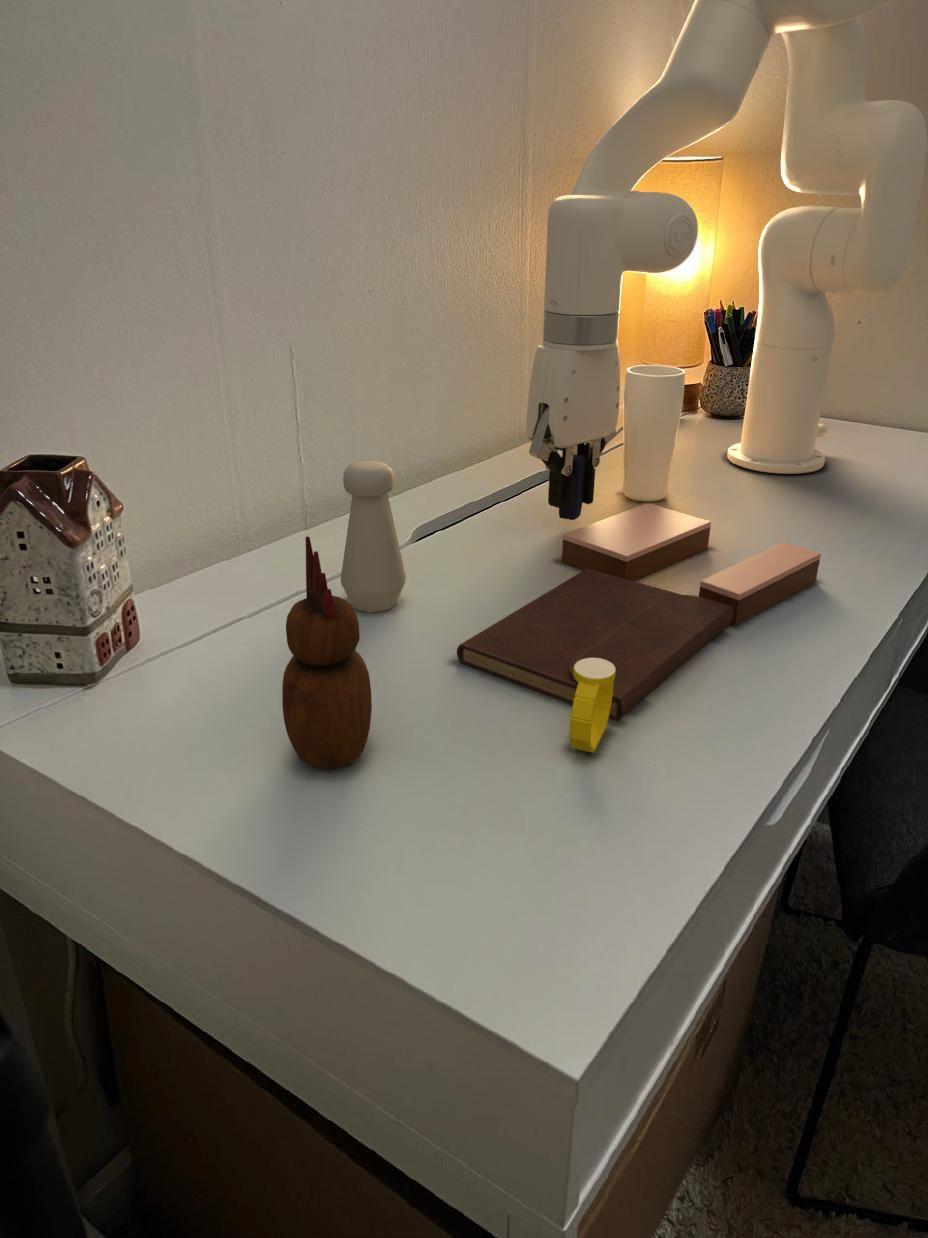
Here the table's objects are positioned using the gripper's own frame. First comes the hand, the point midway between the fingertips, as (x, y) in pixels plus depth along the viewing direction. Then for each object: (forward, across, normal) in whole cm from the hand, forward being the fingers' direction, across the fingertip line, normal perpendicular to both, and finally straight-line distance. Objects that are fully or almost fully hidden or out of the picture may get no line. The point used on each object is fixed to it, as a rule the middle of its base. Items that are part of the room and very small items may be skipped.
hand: (570, 502), depth 101 cm
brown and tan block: (+3, +1, +10) cm, 10 cm away
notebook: (+3, +19, +20) cm, 28 cm away
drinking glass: (+3, -15, -1) cm, 15 cm away
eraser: (+2, 0, 0) cm, 2 cm away
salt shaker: (+3, +28, +1) cm, 28 cm away
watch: (+3, +31, +29) cm, 43 cm away
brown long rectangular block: (+3, +1, +24) cm, 24 cm away
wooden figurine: (+3, +45, +18) cm, 49 cm away
